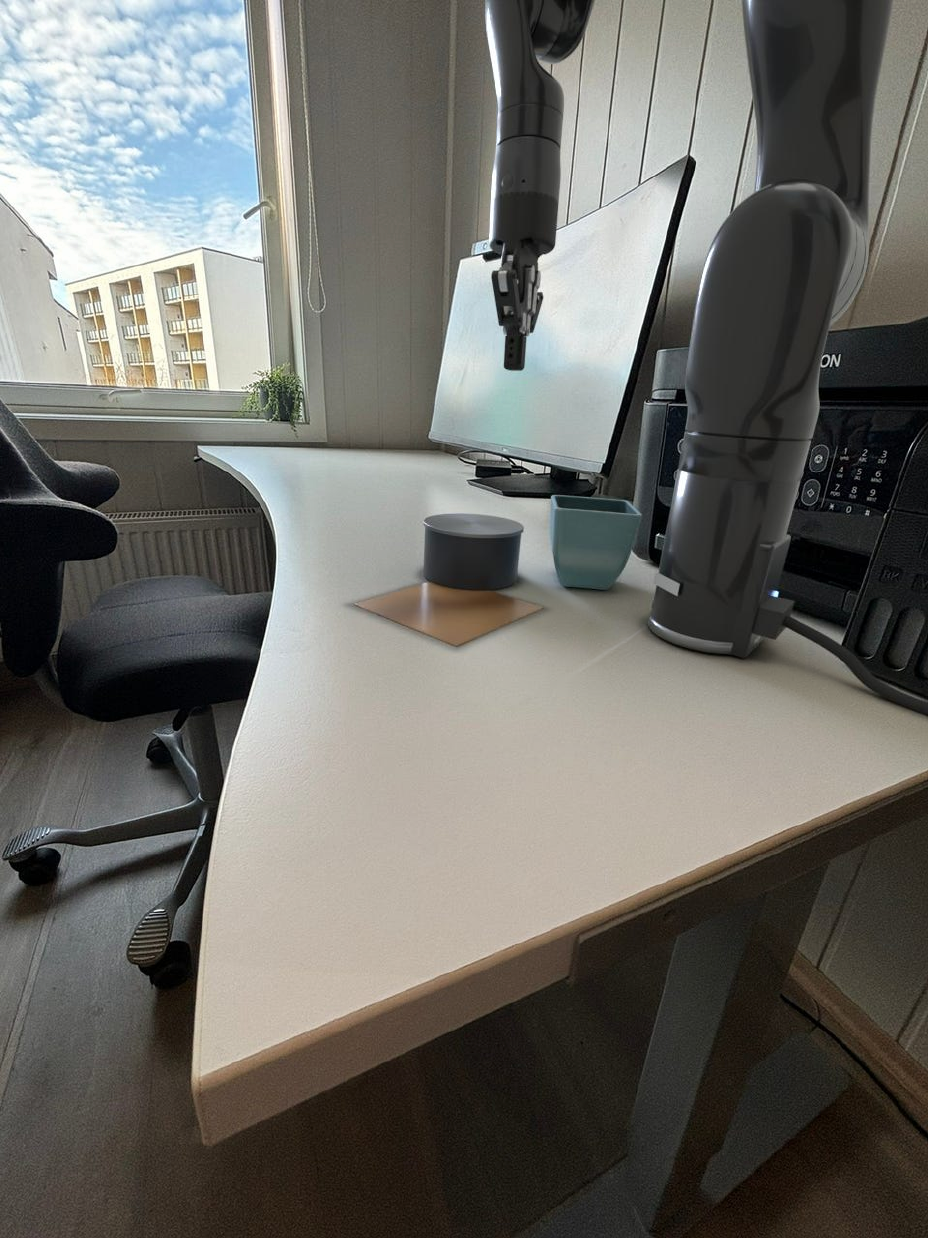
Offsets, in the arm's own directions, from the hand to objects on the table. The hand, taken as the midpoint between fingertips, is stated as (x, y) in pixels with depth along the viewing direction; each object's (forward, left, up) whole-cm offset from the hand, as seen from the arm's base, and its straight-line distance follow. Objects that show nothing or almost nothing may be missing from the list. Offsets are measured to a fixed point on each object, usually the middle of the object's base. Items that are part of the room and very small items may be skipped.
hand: (513, 369), depth 69 cm
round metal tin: (-6, +13, -22) cm, 26 cm away
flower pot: (-16, +5, -22) cm, 28 cm away
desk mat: (-11, +22, -22) cm, 33 cm away
